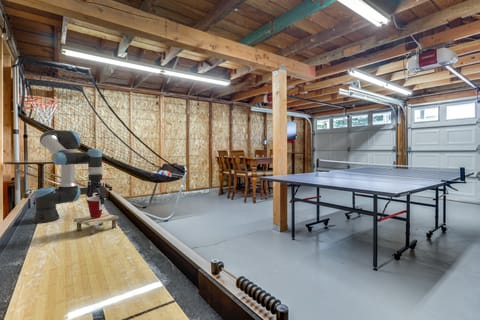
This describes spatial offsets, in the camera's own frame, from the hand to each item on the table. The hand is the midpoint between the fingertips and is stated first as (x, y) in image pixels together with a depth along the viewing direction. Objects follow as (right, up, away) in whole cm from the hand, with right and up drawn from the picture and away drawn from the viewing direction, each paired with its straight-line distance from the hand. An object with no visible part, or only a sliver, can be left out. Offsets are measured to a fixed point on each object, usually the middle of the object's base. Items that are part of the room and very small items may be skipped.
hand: (96, 208), depth 158 cm
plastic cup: (0, -5, 0) cm, 5 cm away
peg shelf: (0, -13, +1) cm, 13 cm away
